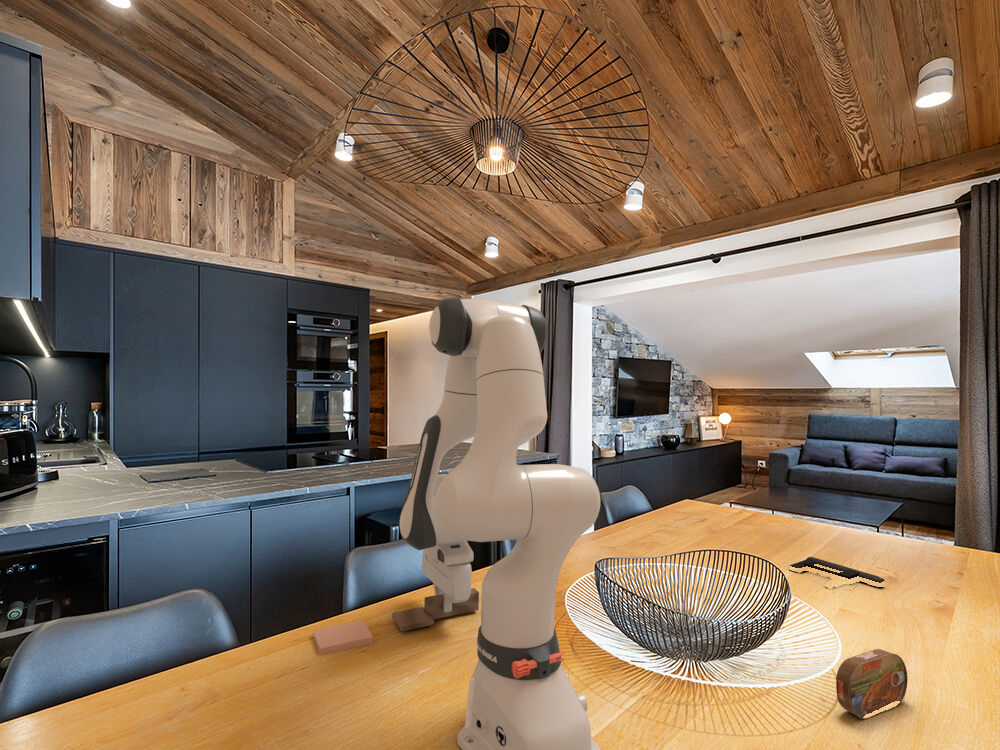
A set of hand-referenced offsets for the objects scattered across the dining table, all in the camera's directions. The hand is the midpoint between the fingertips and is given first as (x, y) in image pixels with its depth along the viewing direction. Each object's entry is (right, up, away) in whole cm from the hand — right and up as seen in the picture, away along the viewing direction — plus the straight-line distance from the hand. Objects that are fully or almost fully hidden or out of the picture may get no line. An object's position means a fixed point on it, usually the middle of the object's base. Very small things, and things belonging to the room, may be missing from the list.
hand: (443, 607), depth 112 cm
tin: (+73, -3, -29) cm, 79 cm away
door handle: (+104, -6, +28) cm, 107 cm away
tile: (-15, -1, -8) cm, 17 cm away
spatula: (-1, -2, 0) cm, 2 cm away
